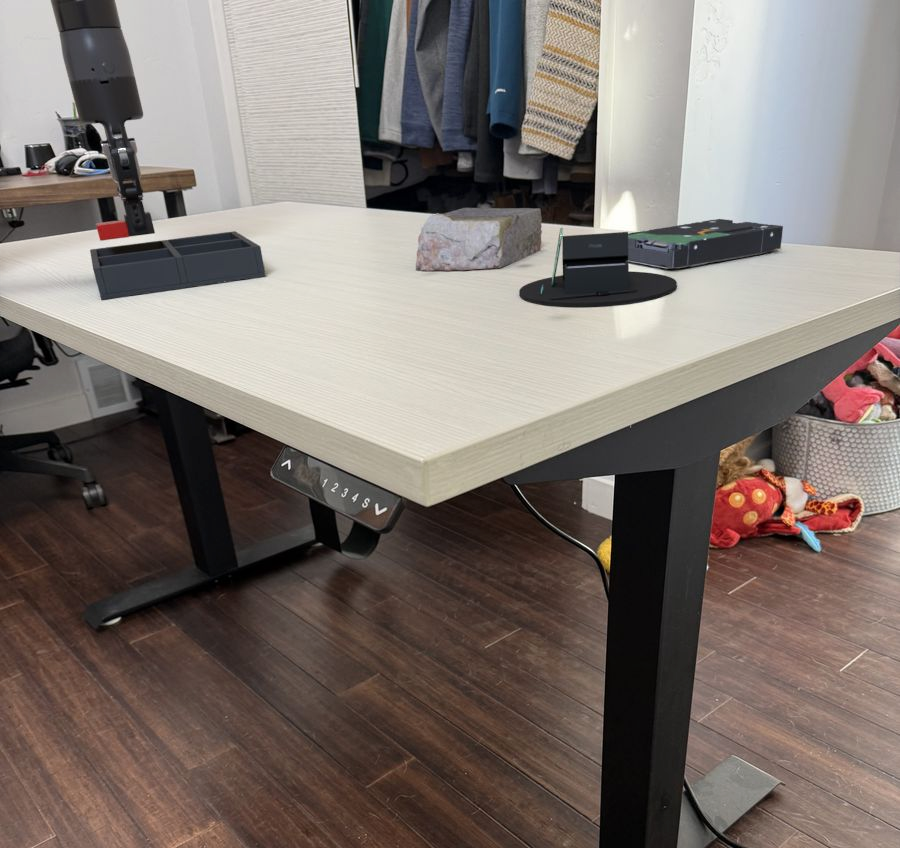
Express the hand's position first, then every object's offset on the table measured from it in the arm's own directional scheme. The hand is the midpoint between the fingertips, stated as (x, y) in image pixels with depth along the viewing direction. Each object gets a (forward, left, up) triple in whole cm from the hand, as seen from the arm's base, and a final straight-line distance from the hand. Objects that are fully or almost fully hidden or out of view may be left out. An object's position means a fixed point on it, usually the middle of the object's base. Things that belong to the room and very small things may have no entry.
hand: (139, 232), depth 111 cm
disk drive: (+56, -42, -5) cm, 70 cm away
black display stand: (+39, -50, -5) cm, 63 cm away
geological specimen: (+37, -24, -6) cm, 45 cm away
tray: (+3, -4, -5) cm, 8 cm away
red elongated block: (-1, 0, 0) cm, 1 cm away
